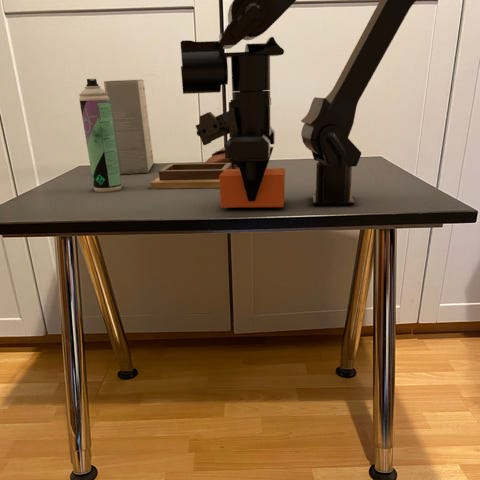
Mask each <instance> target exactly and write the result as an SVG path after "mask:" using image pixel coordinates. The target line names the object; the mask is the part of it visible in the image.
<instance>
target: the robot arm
mask: <svg viewBox="0 0 480 480" xmlns="http://www.w3.org/2000/svg"><path fill="white" fill-rule="evenodd" d="M296 1H297V0H232V2H231V4H230V5H229V8H228V12H227V23H228V24H227V26H226V27H225V28H224V31H222V32H220V34H219V35H218V40H214V41H213V40H212V41H194V40H190V39H189V40H188V39H187V40H181V41H180V54H181V55H180V56H181V66H180V74H181V86H182V94H183V95H187V94H188V95H190V94H214V93H221V92H222V91H221V90H222V86H225V85H228V83H229V68H228V67H229V66H228V58H229V59H230V69H231V70H230V71H231V96H232V97H231V99H230V101H229V102H228V111H225V112H223V113H221V114H219V115H214V113H212V112H211V111H208V112H206V113H204V114H202V115H199V121H198V124H195V128H196V135H197V136H198V137H199V138H200V140H201V144H202V145H203V146H207V145H209V144H211V143H212V142H213V141H216V140H217V139H219V138H222V137H224V136H226V135H229V139H228V140H227V141H226V142H225V143H224V147H225V158H229V160H230V161H231V162H233V163H234V164H235V167H237V168H238V169H240V171H241V175H242V179H243V183H244V187H245V190H246V194H247V198H248V201H255V199H256V197H257V194H258V191H259V188H260V185H261V182H262V179H263V176H264V173H265V170H266V169H268V165H269V162H270V159H271V156H272V153H273V150H274V146H271V145H275V143H276V140H275V139H276V131H275V130H274V129H273V128H272V125H271V106H272V97H271V57H278V56H283V55H284V54H285V50H284V48H283V47H281V45H279V44H278V43H277V41H276V39H275V37H274V36H270V37H269V38H267V41H266V42H265V43H264V42H263V43H260V42H259V43H246V44H245V47H244V51H237V52H235V51H233V52H224V50H230V49H233V47H234V46H236V45H237V44H239V43H241V41H242V40H243V41H252V40H255V39H257V38H259V37H260V36H261V35H263V34H265V32H267V31H268V29H270V28H271V26H273V25H274V23H276V22H277V21H278V19H280V18H281V17H282V15H283V14H284V13H285V12H287V10H288V9H290V7H291V6H292V5H294V3H295V2H296ZM417 1H418V0H379V1H378V3H377V5H376V7H375V8H374V10H373V12H372V15H371V17H370V19H369V20H368V22H367V24H366V26H365V28H364V29H363V32H362V33H361V36H360V37H359V39H358V41H357V43H356V44H355V47H353V50H352V52H351V54H350V56H349V58H348V60H347V61H346V64H345V65H344V67H343V69H342V71H341V73H340V74H339V77H338V79H337V81H336V82H335V84H334V86H333V88H332V90H331V91H330V92H329V93H328V94H327V95H326V96H325V97H313V99H312V101H311V104H310V105H309V106H310V107H309V110H308V112H307V114H306V115H305V116H304V117H303V118H302V119H301V123H304V124H303V125H302V128H301V133H300V134H301V135H300V137H301V140H302V143H303V145H304V146H305V148H306V149H308V150H309V151H310V152H311V154H312V157H313V160H314V161H316V162H317V163H316V169H315V171H316V173H315V178H316V179H315V194H314V193H313V194H312V205H313V206H353V205H355V201H354V198H353V196H352V194H351V189H352V176H353V168H354V167H357V165H358V164H359V161H360V158H361V156H362V152H361V150H360V149H359V148H358V147H357V146H356V145H355V144H354V143H353V142H352V141H351V139H350V138H349V136H350V135H351V132H352V129H353V127H354V123H355V118H356V117H355V116H356V113H357V108H358V107H357V106H358V104H359V101H360V99H361V98H362V96H363V94H364V92H365V91H366V88H367V87H368V85H369V83H370V81H371V79H372V78H373V76H374V74H375V73H376V71H377V69H378V67H379V65H380V63H381V61H382V60H383V58H384V56H385V55H386V52H387V51H388V49H389V47H390V45H391V44H392V42H393V40H394V38H395V36H396V34H397V33H398V31H399V29H400V27H401V25H402V24H403V22H404V20H405V18H406V16H407V15H408V13H409V11H410V9H411V8H412V7H413V5H414V4H415V3H416V2H417Z"/></svg>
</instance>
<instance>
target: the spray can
mask: <svg viewBox="0 0 480 480" xmlns="http://www.w3.org/2000/svg"><path fill="white" fill-rule="evenodd" d="M78 96H79V98H78V100H79V106H80V112H81V118H82V124H83V131H84V135H85V142H86V143H85V144H86V147H87V154H88V160H89V166H90V172H91V179H92V185H93V190H94V192H98V193H109V192H115V191H120V190H122V188H123V185H122V178H121V174H120V170H119V163H118V156H117V149H116V141H115V134H114V127H113V120H112V113H111V106H110V99H109V96H108V93H107V92H105V89H103V88H101V85H99V83H98V80H97V78H86V86H84V89H83V90H82V91H81V92H80V93H79V94H78Z"/></svg>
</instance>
